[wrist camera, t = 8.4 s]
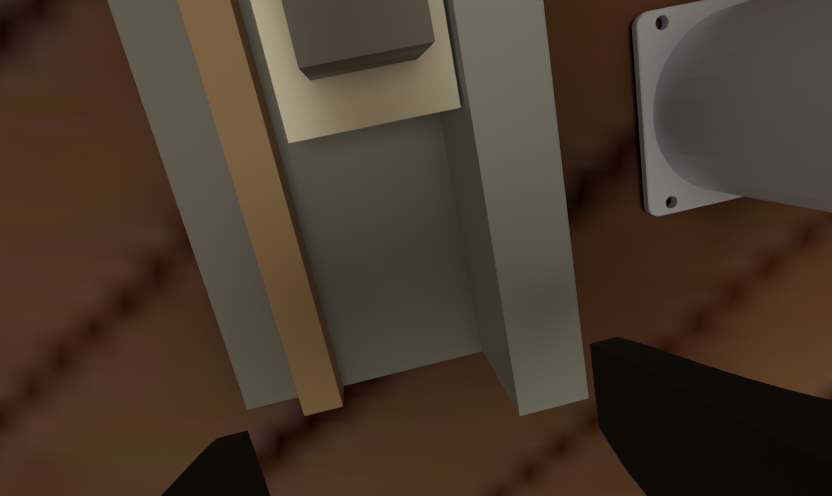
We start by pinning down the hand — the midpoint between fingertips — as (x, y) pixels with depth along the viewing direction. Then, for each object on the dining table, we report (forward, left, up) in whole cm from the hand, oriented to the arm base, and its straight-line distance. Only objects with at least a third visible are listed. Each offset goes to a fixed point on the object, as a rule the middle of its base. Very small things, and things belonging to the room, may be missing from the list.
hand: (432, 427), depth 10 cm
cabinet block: (0, -10, -10) cm, 14 cm away
